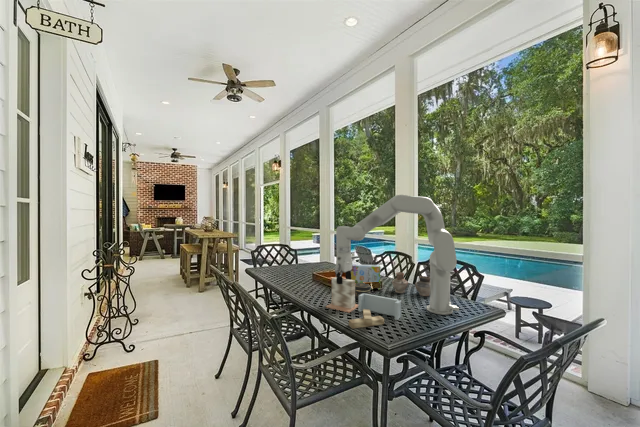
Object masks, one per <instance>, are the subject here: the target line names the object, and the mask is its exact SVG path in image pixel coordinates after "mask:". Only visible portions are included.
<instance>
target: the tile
mask: <svg viewBox="0 0 640 427" xmlns="http://www.w3.org/2000/svg"><path fill="white" fill-rule="evenodd" d="M325 308H327V309H331V310H335V309H336V310H335V311H339V310H340V312H345V313H349V314H350V313H351V312H353V311H354V310H356V309H358V304H357V303H355V307H354V308H352V309H349V308H345V307H340V306H336V305H332V304H331V303H329V304H327V305H326V306H325Z"/></svg>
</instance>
